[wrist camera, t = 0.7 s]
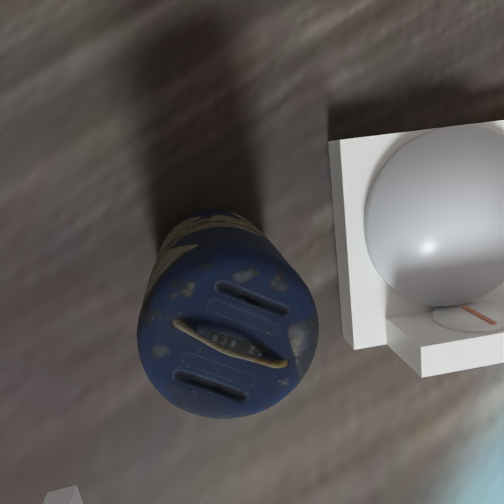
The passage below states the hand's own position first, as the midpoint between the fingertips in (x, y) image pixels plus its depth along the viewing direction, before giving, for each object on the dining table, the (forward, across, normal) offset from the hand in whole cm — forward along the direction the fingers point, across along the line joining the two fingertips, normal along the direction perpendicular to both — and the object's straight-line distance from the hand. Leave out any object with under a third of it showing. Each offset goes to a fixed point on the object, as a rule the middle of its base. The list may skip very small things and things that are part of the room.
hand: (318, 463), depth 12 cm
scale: (+26, +18, -1) cm, 32 cm away
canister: (+26, -2, 0) cm, 27 cm away
